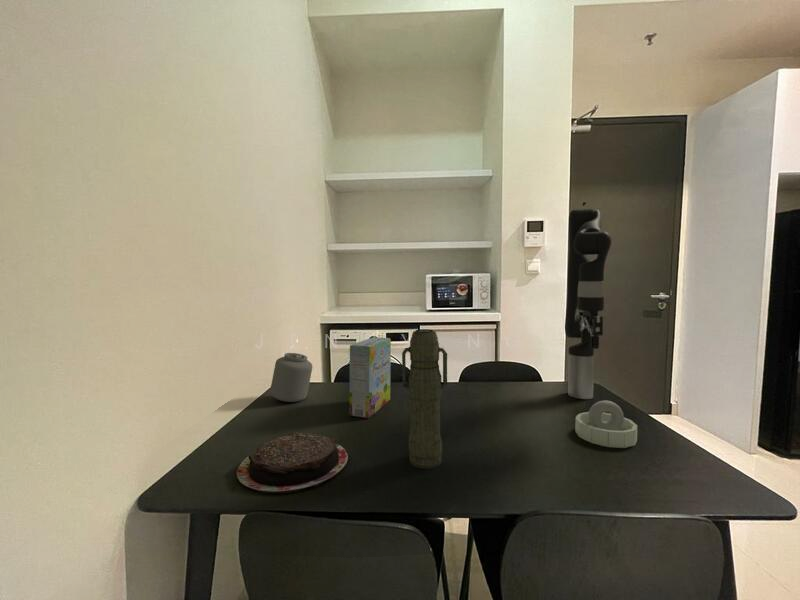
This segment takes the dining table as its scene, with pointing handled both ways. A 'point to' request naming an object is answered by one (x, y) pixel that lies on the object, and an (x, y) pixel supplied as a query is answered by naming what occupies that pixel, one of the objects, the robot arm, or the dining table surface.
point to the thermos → (424, 398)
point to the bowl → (606, 432)
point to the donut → (603, 407)
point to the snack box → (369, 376)
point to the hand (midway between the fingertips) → (589, 345)
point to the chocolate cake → (292, 463)
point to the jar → (291, 377)
